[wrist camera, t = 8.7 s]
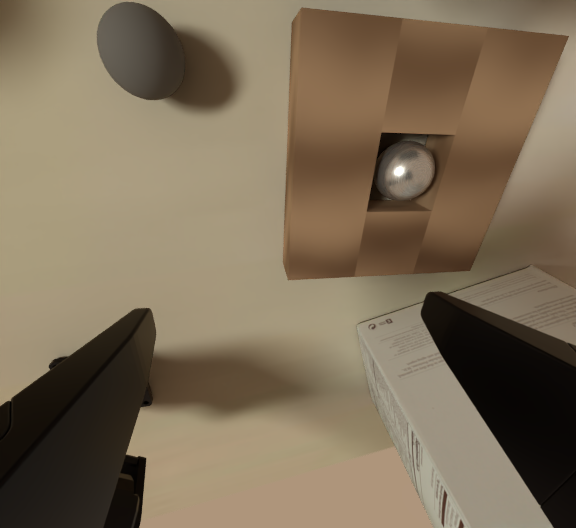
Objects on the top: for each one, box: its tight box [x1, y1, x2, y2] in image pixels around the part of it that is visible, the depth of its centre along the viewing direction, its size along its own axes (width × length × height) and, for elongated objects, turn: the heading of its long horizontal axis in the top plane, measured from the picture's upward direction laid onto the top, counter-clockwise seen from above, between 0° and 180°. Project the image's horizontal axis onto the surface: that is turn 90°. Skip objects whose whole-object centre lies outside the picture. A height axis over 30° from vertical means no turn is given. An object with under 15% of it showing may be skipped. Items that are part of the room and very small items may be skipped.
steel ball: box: [374, 141, 435, 201], centre depth 17 cm, size 4×4×4 cm
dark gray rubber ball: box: [97, 2, 185, 100], centre depth 13 cm, size 4×4×4 cm
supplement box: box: [357, 265, 576, 528], centre depth 21 cm, size 17×13×18 cm
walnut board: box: [283, 8, 569, 280], centre depth 18 cm, size 14×14×2 cm
